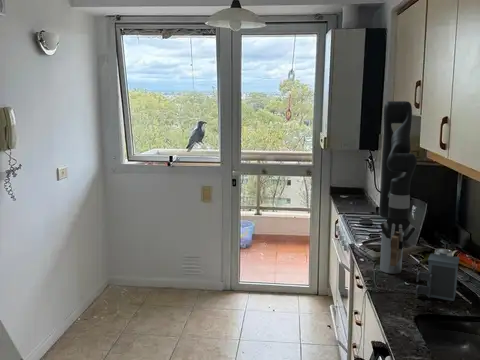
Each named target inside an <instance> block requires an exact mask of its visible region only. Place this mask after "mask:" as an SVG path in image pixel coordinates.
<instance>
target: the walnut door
mask: <svg viewBox="0 0 480 360" xmlns="http://www.w3.org/2000/svg"><path fill="white" fill-rule="evenodd" d="M399 237H400V235H399V232H396V233H395V234H394V235H393V236H392V241H391V258H390V266H396V265H397V263H398V262H399V260H400V258H401V253H402V254H403V251H402V249H401V251H400V249H399V241H400V240H399Z"/></svg>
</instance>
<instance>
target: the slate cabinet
mask: <svg viewBox="0 0 480 360" xmlns="http://www.w3.org/2000/svg"><path fill="white" fill-rule="evenodd" d="M427 258H428V259H427V263H428V267H427V272H425V271H417V274H416V283H419V280H421V281H426V285H420V284H416V287H415V296H418V294H425V295H426V296H425V297H428V298H434V299H435V298H436V299H439V300H440V299H441V300H445V301H450V302H452V301H453V302H455V300H456V299H455V298H456V294H457V282H458V272H459V271H458V269H459V262H460V257H459V256H453V255H452V256H446V255H439V254H435V253H433V252H431V253H430V254H429V256H428V257H427Z"/></svg>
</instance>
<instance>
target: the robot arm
mask: <svg viewBox="0 0 480 360" xmlns="http://www.w3.org/2000/svg"><path fill="white" fill-rule="evenodd" d="M412 106H413V105H412V103H411V102H410V101H406V100H402V101H401V100H400V101H399V100H398V101H393V100H391V101H388V100H387V101H386V102H385V103H384V107H383V108H384V109H383V148H382V163H381V164H382V165H381V187H380V188H381V191H380V199H379V215H380V218H383V219H386V221H385V222H381V223H380V225H379V226H380V228H381V237H380V238H381V239H380V240H381V241H380V242H381V244H380V261H379V262H380V263H379V270H380V271H381V272H383V273H385V274H386V273H387V274H391V275H392V274H400V273H401V272H402V263H403V251H404V250H403V248H404V241H408V240H409V238H410V237H412V235H413V233H414V232H415V231H416V229H417V227H416V225H412V224H411V222H410V219H409V218H410V208H411V207H410V206H411V204H410V203H411V197H410V196H411V195H410V193H411V182H412V178H413V175H414V173H415V169H416V168H417V164H418V163H417V162H418V159H417V156H416V155H415V154H414V153H410V152H411V129H412V121H413V120H412V119H413V107H412ZM393 124H401V125H400V126H398V128H396V129H395V131H394V130H393V127H392V125H393ZM403 173H404V175H403V176H402V174H403ZM407 228H408V233H407V234H406V236H405V231H406V230H407ZM396 232H399V235H400V237H399V240H400V241H399V249H400V251H401V249H402V253H401V258H400V260H399V262H398V263H397V265H396V266H390V258H391V241H392V236H393V235H394V234H395V233H396Z"/></svg>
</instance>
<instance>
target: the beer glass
mask: <svg viewBox="0 0 480 360" xmlns="http://www.w3.org/2000/svg"><path fill="white" fill-rule="evenodd" d="M434 254H439V255H446V256H453V251H452V250H451V249H448V248H447V249H446V248H435V250H434Z"/></svg>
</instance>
